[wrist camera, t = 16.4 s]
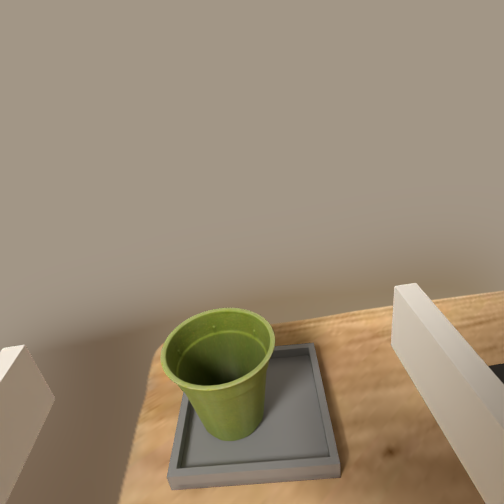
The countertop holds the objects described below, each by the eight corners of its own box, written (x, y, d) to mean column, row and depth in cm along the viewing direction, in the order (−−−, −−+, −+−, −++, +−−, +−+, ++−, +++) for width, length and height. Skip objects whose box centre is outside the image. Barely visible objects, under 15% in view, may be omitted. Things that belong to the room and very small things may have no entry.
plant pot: (167, 410, 46) (143, 339, 40) (247, 363, 51) (236, 295, 46) (213, 488, 37) (191, 411, 31) (305, 421, 42) (299, 345, 37)
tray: (194, 365, 53) (190, 354, 52) (314, 354, 52) (313, 342, 51) (171, 490, 38) (166, 477, 37) (340, 477, 37) (340, 464, 36)
